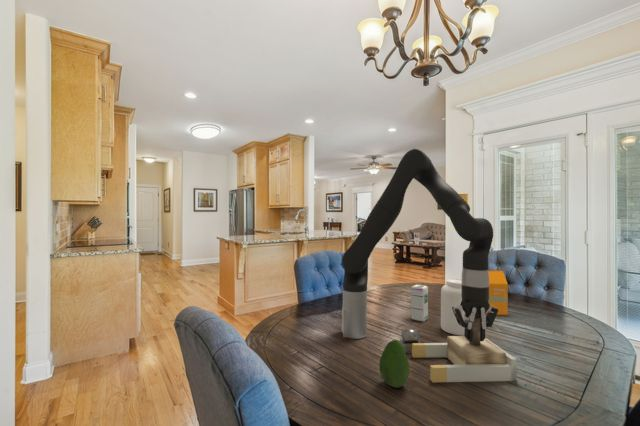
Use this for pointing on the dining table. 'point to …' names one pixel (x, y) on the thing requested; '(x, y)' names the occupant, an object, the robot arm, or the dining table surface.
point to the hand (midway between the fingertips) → (474, 340)
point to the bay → (464, 366)
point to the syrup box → (419, 302)
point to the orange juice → (498, 291)
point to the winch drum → (409, 339)
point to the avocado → (394, 364)
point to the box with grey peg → (473, 349)
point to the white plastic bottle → (449, 300)
